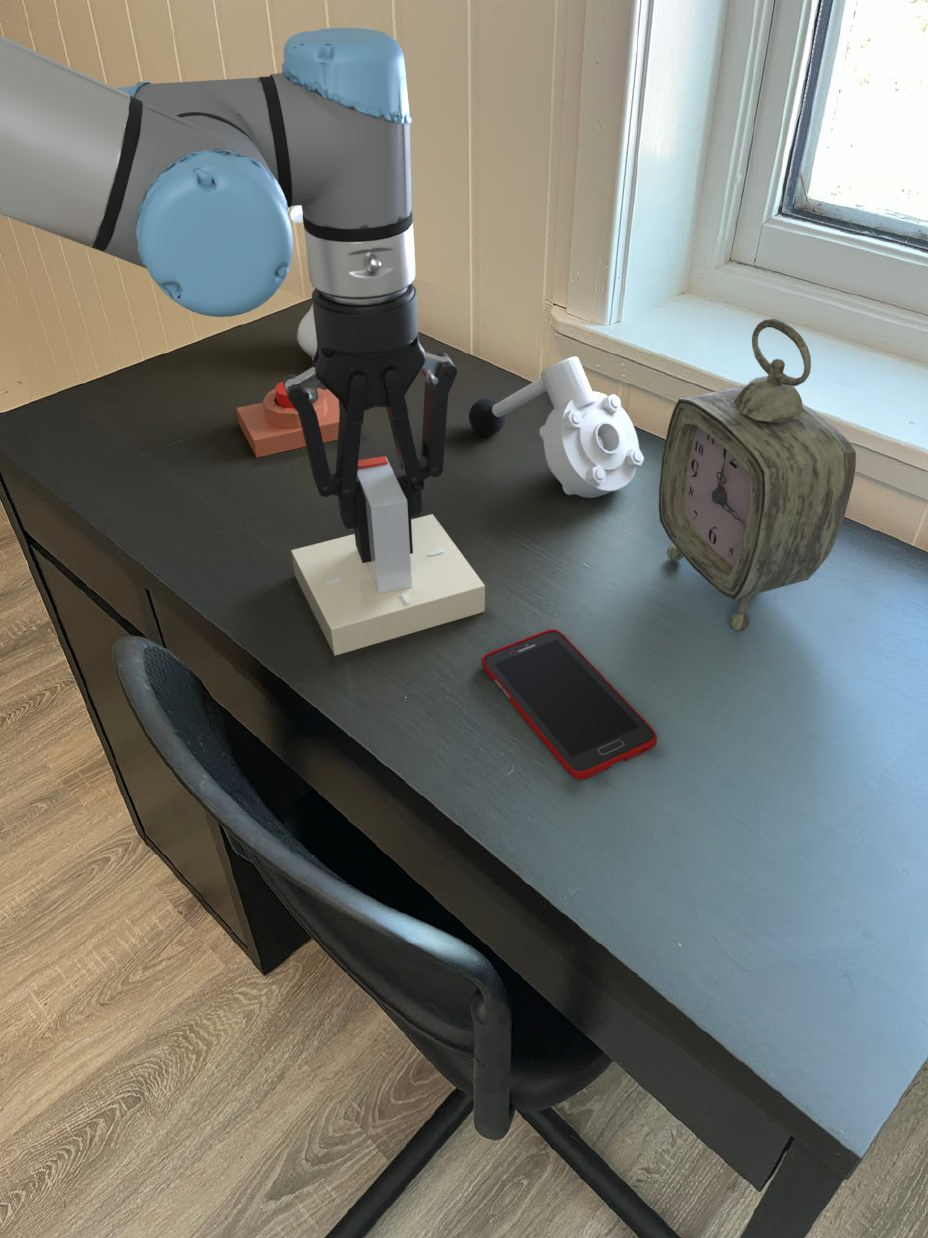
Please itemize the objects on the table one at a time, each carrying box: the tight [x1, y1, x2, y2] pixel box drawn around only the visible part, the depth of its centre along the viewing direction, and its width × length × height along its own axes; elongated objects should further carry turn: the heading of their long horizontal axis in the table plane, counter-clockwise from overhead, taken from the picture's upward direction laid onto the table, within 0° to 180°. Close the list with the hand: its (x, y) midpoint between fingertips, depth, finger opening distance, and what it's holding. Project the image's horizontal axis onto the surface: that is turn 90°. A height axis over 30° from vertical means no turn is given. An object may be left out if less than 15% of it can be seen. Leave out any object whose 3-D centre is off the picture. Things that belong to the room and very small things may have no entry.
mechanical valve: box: [468, 356, 645, 499], centre depth 101 cm, size 10×18×15 cm
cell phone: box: [481, 628, 658, 781], centre depth 75 cm, size 8×15×1 cm, turn 29°
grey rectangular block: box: [357, 455, 412, 594], centre depth 81 cm, size 7×3×9 cm, turn 17°
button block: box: [236, 386, 340, 458], centre depth 107 cm, size 12×8×4 cm, turn 114°
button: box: [274, 381, 294, 408], centre depth 106 cm, size 4×4×2 cm
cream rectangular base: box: [290, 513, 486, 657], centre depth 85 cm, size 14×12×3 cm
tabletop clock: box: [658, 318, 857, 632], centre depth 78 cm, size 14×9×25 cm, turn 21°
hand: (384, 548), depth 83 cm, fingers closed on grey rectangular block, 3 cm apart
